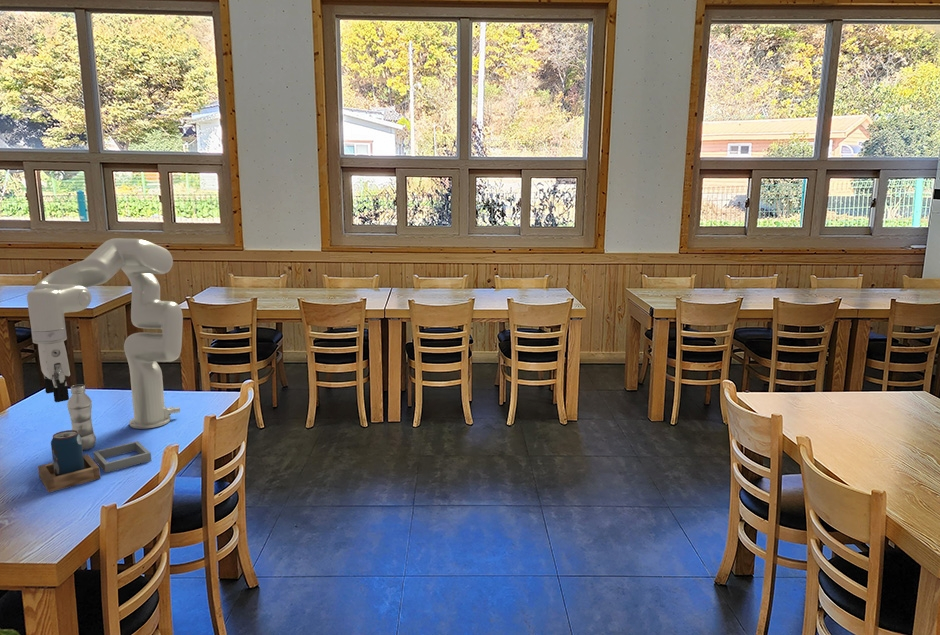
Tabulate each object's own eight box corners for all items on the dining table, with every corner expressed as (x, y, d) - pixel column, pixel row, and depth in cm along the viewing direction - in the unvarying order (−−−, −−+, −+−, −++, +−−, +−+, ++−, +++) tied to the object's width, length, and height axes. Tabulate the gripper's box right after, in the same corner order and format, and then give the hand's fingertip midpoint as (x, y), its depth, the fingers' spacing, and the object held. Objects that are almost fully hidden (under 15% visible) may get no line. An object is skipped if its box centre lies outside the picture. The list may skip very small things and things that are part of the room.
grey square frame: (138, 448, 188) (137, 441, 187) (151, 460, 179) (150, 452, 179) (94, 459, 179) (93, 451, 179) (105, 472, 171) (104, 464, 171)
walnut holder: (89, 464, 176) (87, 454, 175) (100, 478, 168) (99, 467, 167) (39, 477, 168) (37, 466, 167) (48, 492, 159) (47, 480, 159)
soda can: (90, 469, 171) (85, 429, 169) (75, 480, 164) (70, 438, 162) (65, 469, 171) (60, 429, 169) (49, 480, 164) (43, 438, 162)
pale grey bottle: (70, 454, 183) (63, 390, 179) (73, 446, 189) (66, 384, 185) (95, 450, 186) (89, 388, 182) (97, 442, 192) (91, 382, 188)
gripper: (74, 338, 158) (82, 401, 162) (57, 327, 170) (65, 386, 174) (40, 343, 153) (48, 408, 156) (25, 331, 165) (33, 392, 168)
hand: (57, 396), depth 165 cm, fingers open, 9 cm apart
